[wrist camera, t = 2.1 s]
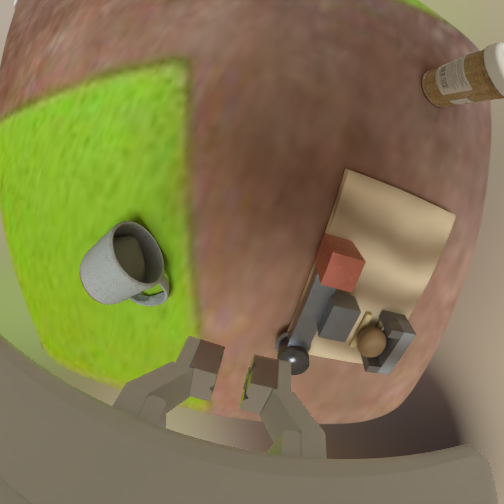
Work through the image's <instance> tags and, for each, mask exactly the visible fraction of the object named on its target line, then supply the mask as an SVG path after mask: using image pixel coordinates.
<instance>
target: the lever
mask: <svg viewBox="0 0 504 504" xmlns="http://www.w3.org/2000/svg"><path fill="white" fill-rule="evenodd" d="M365 263H366V261H365V260H364V258H363V257H362V255H361V254H360V252H359V251H358V249H357V248H356V246H355V245H354V243H353V242H352V241H350V240H347V239H343V238H340V237H337V236H333V235H330V234H327V233H324V236H323V239H322V241H321V244H320V247H319V250H318V253H317V256H316V258H315V264H316V266H315V269H314V271H313V274H312V277H311V279H310V282H309V284H308V287H307V289H306V292H305V295H304V297H303V300H302V302H301V305H300V307H299V310H298V312H297V314H296V317H295V319H294V322H293V324H292V326H291V329H290V331H289V334H288V336H287V337H285V338H284V339H282V340H281V341H280V342H279V345H278V359H277V360H283V361H288V362H290V363H291V375H298V374H301V373H303V372H304V371H306V370H307V369H308V367H309V354H308V348H309V346H310V344H311V342H312V340H313V338H314V336H315V334H316V332H317V330H318V336H319V337H320V338H325V339H329V340H334V341H339V342H345V341H346V339H347V338H348V336H349V334H350V332H351V331H352V329H353V327H354V325H355V323H356V321H357V319H358V317H359V316H360V314H361V310H360V308H359V305H358V303H357V300H356V298H355V296H351V295H348V294H344V293H340V292H336V289H340V290H344V291H348V292H353V290H354V288H355V286H356V283H357V281H358V279H359V277H360V274H361V272H362V270H363V267H364V265H365Z"/></svg>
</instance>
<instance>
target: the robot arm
mask: <svg viewBox="0 0 504 504" xmlns="http://www.w3.org/2000/svg"><path fill="white" fill-rule="evenodd" d="M224 349H225V347H224V346H221V345H217V344H214V343H211V342H208V341H205V340H201V339H198V338H195V337H192V336H189V337H188V338H187V340H186V342H185V344H184V346H183V348H182V350H181V352H180V355H179V357H178V359H177V361H176V363H175V362H170V363H168V364H166V365H164V366H162V367H160V368H158V369H156V370H154V371H151V372H149V373H147V374H145V375H143V376H141V377H139V378H136V379H134V380H132V381H130V382H128V383H126V384H125V386H124V388H123V389H122V391H121V393H120V394H119V396H118V398H117V399H116V401H115V403H114V405H113V406H110V405H108V404H106V403H104V402H102V401H100V400H98V399H96V398H94V397H92V396H91V395H89V394H87V393H85V392H83V391H81V390H80V389H78V388H76V387H74V386H72V385H71V384H69V383H68V382H66V381H64V380H62V379H61V378H59V377H58V376H56V375H54V374H53V373H51V372H50V371H48V370H47V369H45V368H44V367H42V366H41V365H40V364H38V363H37V362H35V361H34V360H32V359H31V358H30V357H28V356H27V355H26V354H24V353H23V352H22V351H20V350H19V349H18V348H16V347H15V346H14V345H13V344H11V343H10V342H9V341H8V340H6V339H5V338H4V337H3V336H2V335H1V334H0V504H498V499H497V493H496V487H495V482H494V478H493V474H492V471H491V467H490V464H489V462H488V460H487V458H486V457H485V456H484V455H483V454H482V453H481V452H480V451H479V450H477V449H476V448H475V447H473V446H472V445H470V444H465V445H461V446H457V447H453V448H448V449H444V450H439V451H434V452H428V453H422V454H416V455H408V456H400V457H389V458H378V459H377V458H376V459H326V441H325V433H324V431H323V430H322V429H321V427H320V426H319V425H318V423H317V422H316V421H315V420H314V418H313V417H312V416H311V414H310V413H309V412H308V410H307V409H306V408H305V406H304V405H303V404H302V402H301V401H300V399H299V398H298V397H297V395H296V394H295V393H293V392H291V363H290V362H288V361H283V360H277V359H273V358H268V357H264V356H259V355H255V354H254V356H253V358H252V361H251V366H250V367H249V369H248V372H247V375H246V378H245V382H244V387H243V389H244V392H243V395H242V398H241V404H240V409H241V410H245V411H249V412H254V413H258V414H260V416H261V419H262V421H263V423H264V425H265V426H266V428H267V431H268V433H269V435H270V436H271V439H272V441H273V442H274V444H273V445H272V447H271V448H270V449H269V450H268V452H267V453H261V452H255V451H250V450H244V449H239V448H234V447H230V446H225V445H221V444H217V443H213V442H209V441H205V440H201V439H198V438H194V437H191V436H188V435H184V434H181V433H178V432H175V431H172V430H169V429H166V413H167V412H169V411H170V410H172V409H173V408H175V407H176V406H177V405H179V404H180V403H182V402H183V401H184V400H186V399H187V398H189V396H191V397H195V398H198V399H202V400H206V401H210V400H211V396H212V393H213V390H214V386H215V382H216V379H217V376H218V372H219V368H220V365H221V361H222V357H223V353H224Z"/></svg>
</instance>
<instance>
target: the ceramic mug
mask: <svg viewBox="0 0 504 504" xmlns="http://www.w3.org/2000/svg"><path fill="white" fill-rule="evenodd" d="M163 274H164V259H163V255H162V252H161V250H160V247H159V245H158V244H157V242H156V240H155V239H154V237H153V236H152V235H151V233H150V232H149V231H148V230H147V229H146V228H144V227H143V226H141V225H140V224H138V223H136V222H132V221H123V222H120V223H118V224H117V225H115V226H114V227H113V228H112V229H111V230H110V231H109V232H108V233H107V234H105V235H104V236H103V237H102V238H101V239H100V240H99V241H98V242H97V243H96V244H95V245H94V246H93V247H92V248H91V249H90V250H89V251H88V252H87V253H86V255H85V256H84V258H83V260H82V262H81V266H80V279H81V282H82V285H83V287H84V289H85V290H86V292H87V293H88V295H89V296H90V297H92V298H93V299H94V300H96V301H97V302H99V303H102V304H107V305H109V304H116V303H120V302H122V301H124V300H126V299H128V298H129V299H130V300H132V301H133V302H135V303H138V304H140V305H145V306H156V305H160V304H162V303H164V302H165V301H166V300H167V299H168V296H169V289H170V286H169V282H168V280H167V279H166V277H165V276H164V275H163ZM156 284H159V285H160V286H161V287H162V289H163V290H164V292H162V293H159V294H156V295H152V296H146V295H142V294H140V293H141V292H143V291H145V290H147V289H149V288H151V287H153V286H155V285H156Z"/></svg>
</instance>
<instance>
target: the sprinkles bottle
mask: <svg viewBox="0 0 504 504" xmlns="http://www.w3.org/2000/svg"><path fill="white" fill-rule="evenodd" d="M422 87H423V91H424V93H425V95H426V97H427V98H428V99H429V100H430V102H431V103H433V104H434V105H436V106H438V107H442V108H446V107H449V106H450V105H456V104H457V105H460V104H467V103H474V102H479V101H485V100H493V99H501V98H504V43H503V42H500V43H495V44H492V45H490V46H487V47H486V49H484V50H482V51H479V52H476V53H473V54H469V55H466V56H463V57H461V58H458V59H456V60H453V61H451V62H448V63H446V64H444V65H441V66H440V67H438V68H436V69H434V70H429V71H427V72H426V73H425V74H424V75H423V78H422Z"/></svg>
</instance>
